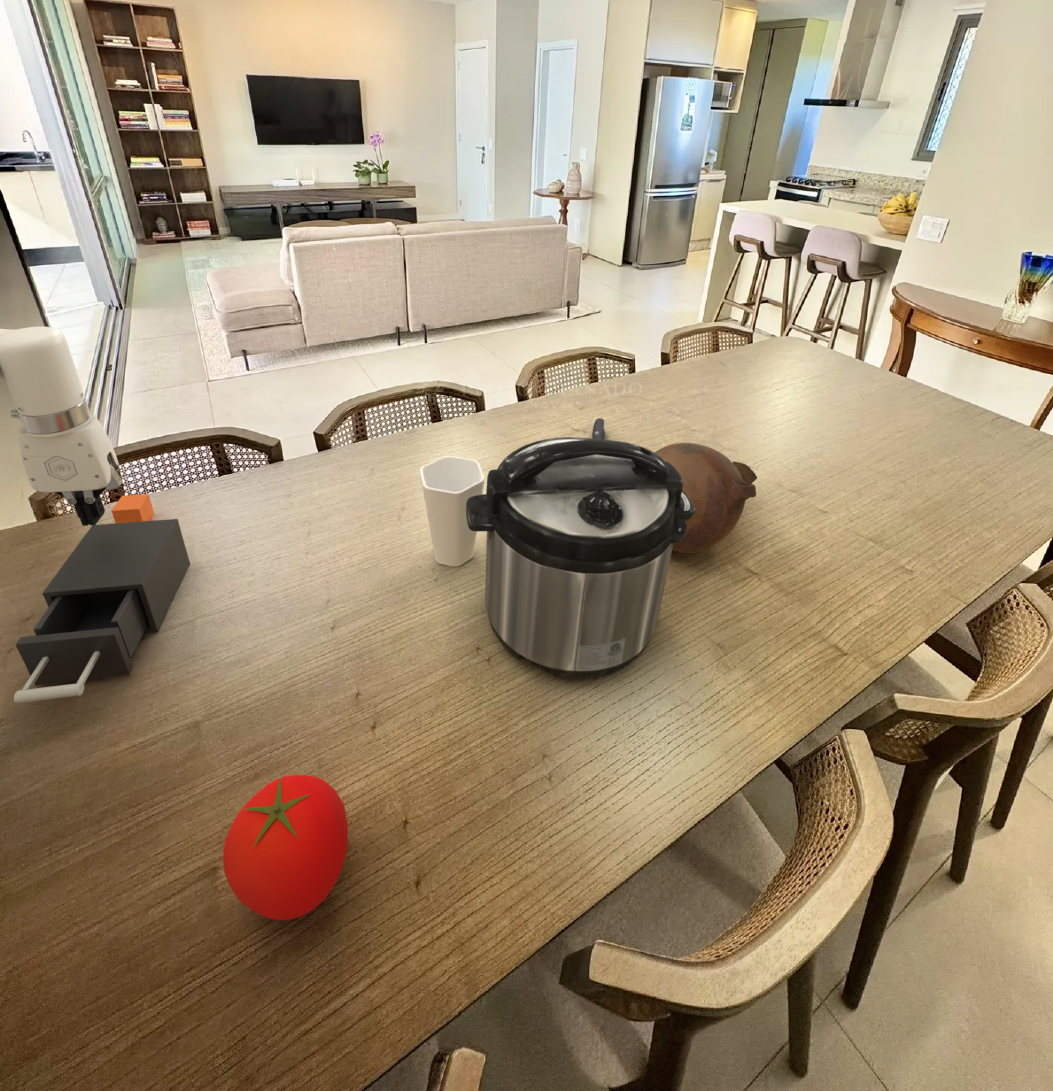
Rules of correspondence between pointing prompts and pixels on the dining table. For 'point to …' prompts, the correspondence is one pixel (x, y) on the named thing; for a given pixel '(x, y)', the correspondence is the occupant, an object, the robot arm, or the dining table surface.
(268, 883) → the tomato
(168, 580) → the dark grey cabinet
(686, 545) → the jug
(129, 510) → the block
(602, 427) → the can opener
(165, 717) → the dining table surface
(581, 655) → the pressure cooker
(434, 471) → the cup
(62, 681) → the drawer
